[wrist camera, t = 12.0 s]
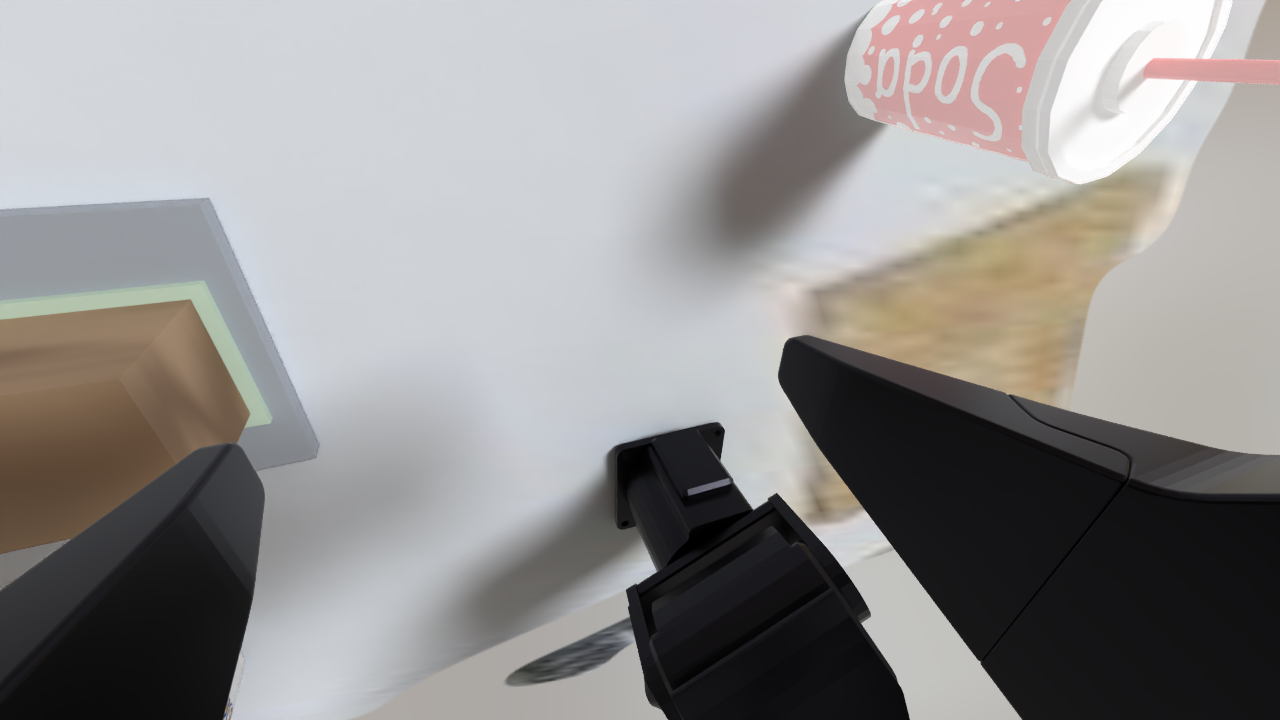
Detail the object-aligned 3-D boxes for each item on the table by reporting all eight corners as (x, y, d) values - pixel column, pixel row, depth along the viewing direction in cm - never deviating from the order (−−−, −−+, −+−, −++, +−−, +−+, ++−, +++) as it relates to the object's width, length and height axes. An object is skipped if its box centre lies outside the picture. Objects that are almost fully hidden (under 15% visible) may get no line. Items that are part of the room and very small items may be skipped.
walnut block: (250, 414, 17) (206, 508, 14) (88, 441, 16) (-7, 555, 12) (190, 299, 15) (118, 379, 11) (-7, 320, 13) (-159, 418, 10)
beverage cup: (854, -46, 18) (1573, -194, 7) (974, -25, 20) (1674, -111, 9) (812, 138, 21) (1247, 243, 10) (918, 140, 23) (1377, 229, 12)
